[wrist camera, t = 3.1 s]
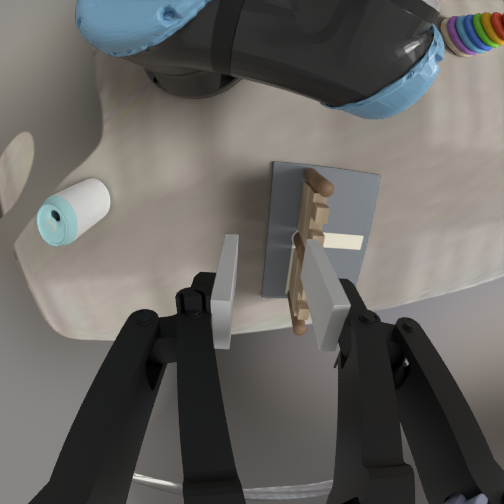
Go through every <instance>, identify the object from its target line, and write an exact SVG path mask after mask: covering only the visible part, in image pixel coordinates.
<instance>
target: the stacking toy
mask: <svg viewBox="0 0 504 504" xmlns="http://www.w3.org/2000/svg"><path fill="white" fill-rule="evenodd" d="M440 29H441V34H442V37H443V39H444V41H445V42H446V44H447V45H448V47H449V48H450V49H451V50H452V51H453V52H454V53H455V54H457V55H459V56H461V57H464V58H469V57H471V56H472V55H476V54H477V53H483V52H485V51H489V50H491V49H492V48H496V47H498V46H499V45H504V14H503V15H502V14H500V13H497V12H495V13H493V14H491V13H487V12H486V13H483V14H480V13H477V14H475V15H467V16H460V17H458V16H453V17H451V18H445V19H443V20H442V22H441V27H440Z"/></svg>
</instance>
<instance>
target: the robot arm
mask: <svg viewBox="0 0 504 504" xmlns="http://www.w3.org/2000/svg"><path fill="white" fill-rule="evenodd" d="M441 10H442V9H441V6H440V3H439V0H78V1H77V5H76V11H75V20H76V24H77V26H78V29H79V30H80V34H81V36H82V37H83V38H84V39H85V40H86V41H87V42H88V43H90V44H92V45H93V46H95V47H97V48H98V49H99V50H100V51H102V52H104V53H105V54H107V55H111V56H115V57H121V58H123V59H126V60H128V61H131V62H133V63H135V64H138V65H140V66H142V67H144V69H145V71H146V73H147V75H148V77H149V78H150V79H151V81H152V82H153V83H154V84H155V85H156V86H158V87H159V88H160V89H162V90H163V91H165V92H167V93H170V94H172V95H175V96H178V97H182V98H190V99H199V98H207V97H211V96H214V95H217V94H220V93H222V92H224V91H226V90H228V89H230V88H231V87H233V86H234V85H235V84H237V83H238V82H239V81H240V80H241V79H246V80H250V81H254V82H258V83H262V84H265V85H269V86H273V87H276V88H279V89H283V90H286V91H289V92H292V93H296V94H299V95H302V96H305V97H307V98H310V99H313V100H316V101H319V102H320V103H321V104H322V105H323V106H325V107H327V108H330V109H337V110H343V111H345V112H348V113H351V114H353V115H356V116H358V117H361V118H364V119H376V120H377V119H385V118H389V117H392V116H394V115H397V114H399V113H401V112H402V111H404V110H406V109H407V108H409V107H410V106H411V105H413V104H414V103H415V102H416V101H417V100H418V99H419V98H420V97H421V96H422V95H423V94H424V93H425V92H426V91H427V90H428V88H429V87H430V86H431V84H432V83H433V81H434V80H435V78H436V76H437V74H438V72H439V70H440V69H439V66H438V65H437V63H438V62H440V61H441V60H443V57H444V42H443V38H442V36H441V34H440V32H439V31H438V29H437V27H436V26H435V25H434V24H433V22H434V21H435V19H436V18H437V16H438V15H439V14H440V12H441ZM238 236H239V235H236V234H226V235H225V240H224V244H223V248H222V252H221V256H220V261H219V265H218V269H217V273H210V272H199V273H198V274H197V275H196V276H195V277H194V279H193V282H192V285H191V287H188V288H184V289H182V290H180V291H179V292H178V293H177V294H176V297H175V298H176V307H177V314H175V315H173V316H168V317H160V318H159V317H158V315H157V313H156V312H154V311H152V310H149V309H141V310H137V311H135V312H133V313H132V314H131V315H130V316H129V317H128V319H127V321H126V322H125V324H124V326H123V327H122V329H121V331H120V333H119V334H118V336H117V338H116V340H115V341H114V343H113V345H112V347H111V349H110V351H109V352H108V354H107V356H106V358H105V360H104V362H103V363H102V365H101V367H100V369H99V371H98V373H97V375H96V377H95V379H94V381H93V383H92V385H91V387H90V389H89V391H88V393H87V395H86V397H85V399H84V401H83V403H82V405H81V407H80V409H79V411H78V413H77V416H76V418H75V420H74V422H73V424H72V426H71V429H70V432H69V433H68V435H67V438H66V440H65V442H64V445H63V447H62V450H61V452H60V455H59V457H58V460H57V462H56V465H55V467H54V470H53V473H52V476H51V478H50V481H49V482H48V483H47V484H46V485H45V486H44V487H43V489H42V490H41V491H40V492H39V493H38V494H37V495H36V496H35V497H34V498H33V499H32V500H31V501H30V502H29V503H28V504H126V501H127V497H128V493H129V489H130V485H131V481H132V478H133V474H134V470H135V466H136V463H137V459H138V456H139V452H140V449H141V445H142V442H143V439H144V435H145V432H146V429H147V425H148V422H149V419H150V416H151V412H152V409H153V406H154V403H155V399H156V397H157V393H158V390H159V387H160V384H161V381H162V378H163V375H164V372H165V369H166V366H167V363H172V362H177V387H178V411H179V428H180V442H181V453H182V464H183V473H184V481H183V497H184V504H246V502H245V498H244V494H243V490H242V486H241V483H240V480H239V478H238V475H237V471H236V467H235V462H234V457H233V452H232V448H231V443H230V438H229V432H228V427H227V422H226V417H225V411H224V405H223V400H222V394H221V388H220V382H219V376H218V369H217V363H216V356H215V349H214V348H218V349H229V348H230V337H231V327H232V317H233V307H234V297H235V287H236V278H237V259H238ZM301 281H302V285H303V288H304V292H305V296H306V299H307V303H308V307H309V311H310V315H311V319H312V322H313V326H314V330H315V333H316V338H317V342H318V346H319V351H335V350H336V346H337V344H338V343H339V346H340V352H339V355H338V357H337V359H336V362H335V365H334V368H336V366H337V364H338V419H337V441H336V456H335V469H334V479H333V486H332V490H331V492H330V494H329V496H328V499H327V503H326V504H415V480H414V471H413V468H412V467H411V465H409V464H406V463H405V462H404V460H403V451H402V440H401V430H400V423H401V425H402V428H403V431H404V433H405V436H406V439H407V441H408V444H409V447H410V450H411V453H412V456H413V458H414V462H415V465H416V467H417V470H418V474H419V477H420V480H421V483H422V486H423V490H424V493H425V495H426V498H427V500H428V502H429V504H504V471H503V469H502V468H501V467H500V466H499V465H498V464H497V462H496V461H495V460H494V458H493V456H492V453H491V451H490V449H489V446H488V444H487V442H486V439H485V437H484V435H483V433H482V431H481V429H480V427H479V425H478V423H477V421H476V419H475V417H474V415H473V413H472V411H471V409H470V407H469V405H468V403H467V401H466V399H465V398H464V396H463V394H462V392H461V391H460V389H459V387H458V385H457V383H456V382H455V380H454V378H453V376H452V375H451V373H450V372H449V370H448V368H447V366H446V365H445V363H444V361H443V360H442V358H441V357H440V355H439V354H438V352H437V350H436V349H435V347H434V346H433V344H432V343H431V341H430V340H429V338H428V337H427V335H426V334H425V332H424V331H423V329H422V328H421V326H420V325H419V324H418V323H417V322H416V321H414V320H413V319H411V318H405V317H403V318H399V319H398V320H397V322H396V324H395V325H393V324H388V323H383V322H381V320H380V318H379V316H378V315H377V314H376V313H374V312H372V311H370V310H367V308H366V306H365V304H364V302H363V300H362V298H361V297H360V296H359V293H358V291H357V289H356V287H355V285H354V284H353V283H352V282H351V281H350V280H348V279H343V278H338V277H337V275H336V273H335V271H334V269H333V267H332V265H331V263H330V261H329V259H328V257H327V255H326V253H325V251H324V249H323V247H322V245H321V243H320V241H319V240H315V239H307V241H306V247H305V254H304V260H303V266H302V272H301ZM406 359H407V361H408V362H409V365H408V366H407V365H406V363H405V360H406ZM399 420H400V421H399Z"/></svg>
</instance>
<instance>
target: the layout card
mask: <svg viewBox="0 0 504 504" xmlns="http://www.w3.org/2000/svg"><path fill="white" fill-rule="evenodd" d="M307 168H313V169H314V170H316V171H317V172H318V173H320V174H321V175H322V176H324V177H325V178H326V179H327V180H329V181H330V182H331V183H332V184H333V185H334V193H333V194H332V195H331V196H330V197H327V201H326V205H327V206H328V207H329V208H330V210H329V216H328V222H327V224H323V226H322V232H323V234H324V235H325V239H324V245H323V249H324V251H325V253H326V255H327V257H328V259H329V261H330V263H331V265H332V267H333V269H334V271H335V273H336V275H337V277H338V278H343V279H348V280H350V281H351V282H352V283H353V284H354V285H355V287H356V284H357V280H358V277H359V273H360V269H361V266H362V262H363V258H364V254H365V250H366V246H367V242H368V238H369V234H370V229H371V225H372V220H373V215H374V211H375V206H376V200H377V195H378V190H379V184H380V178H381V175H377V174H371V173H365V172H359V171H353V170H346V169H339V168H332V167H324V166H316V165H307V164H298V163H288V162H276V161H274V167H273V179H272V191H271V202H270V214H269V225H268V236H267V247H266V258H265V268H264V278H263V288H262V297H269V298H288V296H287V292H288V290H289V282H290V275H291V269H292V262H293V255H294V248H296V247H295V244H294V241H293V237H294V235H295V234H296V233H297V232H299V231H298V222H299V214H300V206H301V198H302V189H303V181H307V180H306V179H305V177H304V171H305V169H307Z"/></svg>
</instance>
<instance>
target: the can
mask: <svg viewBox="0 0 504 504" xmlns="http://www.w3.org/2000/svg"><path fill="white" fill-rule="evenodd" d="M109 208H110V196H109V192H108V190H107V188H106V187H105V185H104V184H103V183H102V182H100V181H99V180H97V179H94V178H89V179H86V180H83V181H81V182H79V183H77V184H75V185H72V186H70V187H68V188H66V189H64V190H62V191H60V192H58V193H56V194H54V195H52V196H50V197H48V198H47V199H46V200H45V201H44V203H43V204H42V207H41V208H40V209H39V211H38V213H37V227H38V230H39V232H40V234H41V236H42V238H43V239H44V240H45V241H46V242H47V243H48V244H50V245H52V246H60V245H68V244H70V243H72V242H73V241H74V240H75V239H77V238H78V237H79V236H80V235H82V234H83V233H84V232H85V231H87V230H88V229H89V228H90V227H92V226H93V225H94V224H96V223H97V222H98V221H100V220H101V219H102V218H104V217H105V216H106V214H107V213H108V211H109Z"/></svg>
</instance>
